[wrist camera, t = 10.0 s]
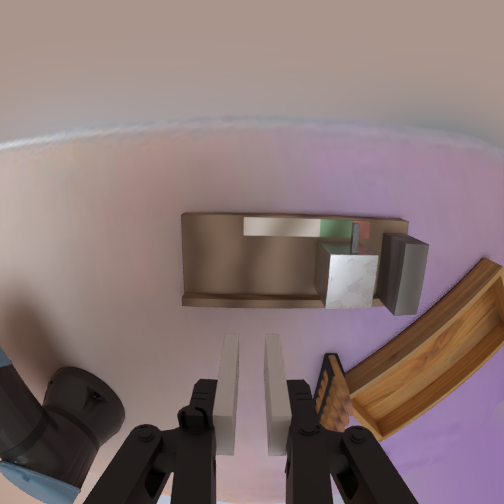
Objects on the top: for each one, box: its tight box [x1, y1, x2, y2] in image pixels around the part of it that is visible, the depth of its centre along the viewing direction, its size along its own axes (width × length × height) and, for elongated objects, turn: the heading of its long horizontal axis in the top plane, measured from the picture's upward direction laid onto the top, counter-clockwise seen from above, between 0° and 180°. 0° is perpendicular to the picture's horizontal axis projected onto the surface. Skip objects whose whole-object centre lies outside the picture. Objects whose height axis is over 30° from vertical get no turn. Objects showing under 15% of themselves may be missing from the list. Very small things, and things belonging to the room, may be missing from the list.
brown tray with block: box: [181, 213, 429, 316], centre depth 33 cm, size 27×11×8 cm, turn 89°
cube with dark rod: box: [314, 223, 378, 309], centre depth 31 cm, size 5×9×6 cm, turn 179°
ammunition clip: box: [313, 354, 353, 432], centre depth 36 cm, size 11×2×12 cm, turn 175°
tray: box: [345, 258, 504, 442], centre depth 38 cm, size 31×15×6 cm, turn 129°
